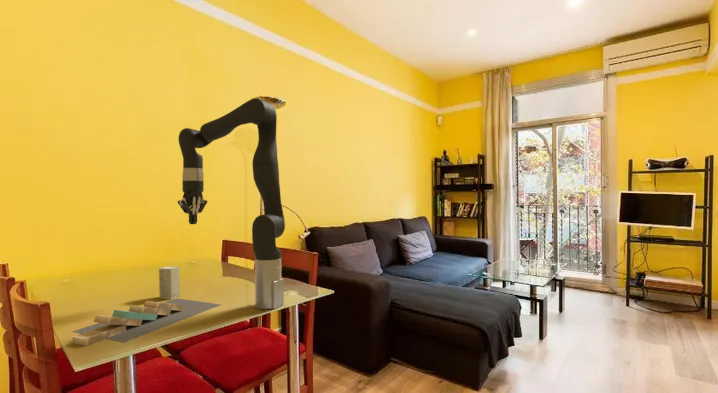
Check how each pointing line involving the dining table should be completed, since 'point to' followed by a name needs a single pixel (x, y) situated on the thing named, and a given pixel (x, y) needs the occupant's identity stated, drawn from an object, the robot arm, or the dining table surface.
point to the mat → (157, 320)
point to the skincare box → (169, 282)
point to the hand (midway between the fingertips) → (193, 224)
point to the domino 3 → (134, 315)
